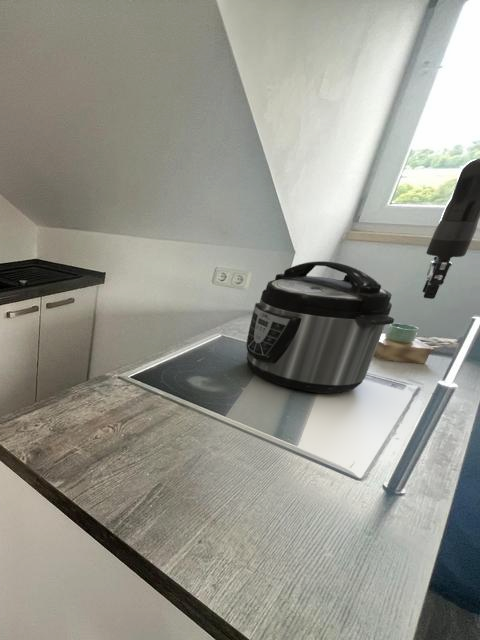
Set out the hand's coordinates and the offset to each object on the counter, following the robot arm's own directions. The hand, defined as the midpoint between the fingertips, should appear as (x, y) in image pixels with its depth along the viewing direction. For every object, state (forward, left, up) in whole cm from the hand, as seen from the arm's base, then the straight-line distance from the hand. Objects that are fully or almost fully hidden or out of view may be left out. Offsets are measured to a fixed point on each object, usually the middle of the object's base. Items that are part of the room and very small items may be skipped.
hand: (427, 295), depth 114 cm
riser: (+2, -1, -20) cm, 20 cm away
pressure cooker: (+28, +32, -20) cm, 47 cm away
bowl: (+2, -1, -15) cm, 15 cm away
